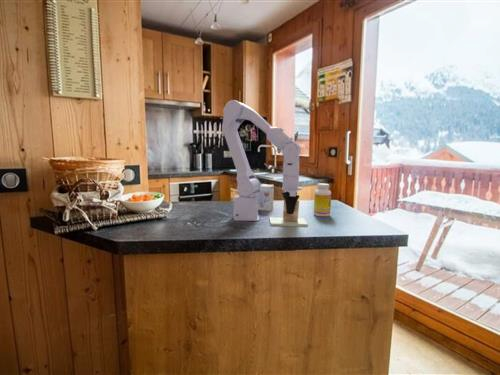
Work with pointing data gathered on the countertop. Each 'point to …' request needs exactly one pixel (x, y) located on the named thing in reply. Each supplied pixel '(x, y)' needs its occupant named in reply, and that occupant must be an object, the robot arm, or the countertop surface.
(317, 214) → the supplement bottle
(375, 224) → the countertop surface
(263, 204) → the light bulb box
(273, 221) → the sage board
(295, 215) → the beech block
